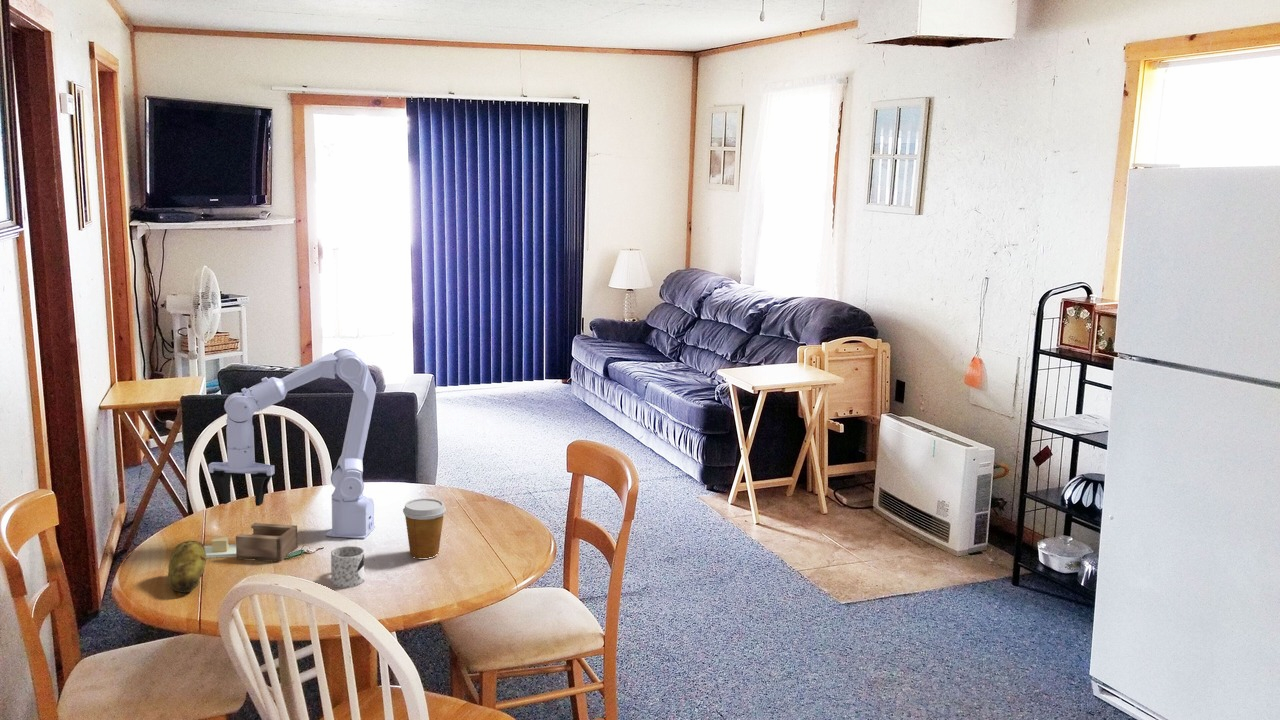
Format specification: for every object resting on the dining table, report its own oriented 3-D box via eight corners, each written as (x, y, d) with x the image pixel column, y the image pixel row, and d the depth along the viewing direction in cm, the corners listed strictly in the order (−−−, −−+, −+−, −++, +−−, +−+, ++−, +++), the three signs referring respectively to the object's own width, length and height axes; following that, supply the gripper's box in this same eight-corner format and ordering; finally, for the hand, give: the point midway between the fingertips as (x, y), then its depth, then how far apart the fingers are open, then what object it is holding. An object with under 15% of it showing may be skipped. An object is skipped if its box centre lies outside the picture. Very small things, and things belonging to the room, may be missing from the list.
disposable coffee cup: (430, 544, 226) (431, 495, 224) (453, 555, 220) (454, 505, 218) (394, 553, 220) (394, 503, 218) (417, 565, 213) (417, 513, 211)
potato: (152, 596, 192) (150, 558, 191) (179, 571, 205) (178, 535, 203) (194, 597, 192) (193, 559, 191) (219, 572, 205) (218, 536, 204)
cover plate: (241, 549, 220) (241, 533, 219) (237, 558, 214) (237, 542, 214) (203, 550, 218) (203, 534, 217) (198, 560, 212) (198, 544, 211)
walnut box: (297, 547, 221) (297, 525, 220) (280, 561, 212) (280, 539, 211) (255, 544, 222) (254, 522, 221) (236, 558, 213) (235, 536, 212)
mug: (365, 586, 201) (365, 556, 200) (332, 589, 199) (332, 559, 198) (361, 568, 210) (361, 539, 209) (329, 571, 208) (329, 542, 207)
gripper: (279, 443, 221) (281, 499, 224) (218, 440, 222) (220, 496, 224) (266, 451, 214) (268, 509, 217) (202, 448, 215) (205, 506, 217)
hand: (243, 503), depth 220 cm, fingers open, 7 cm apart
